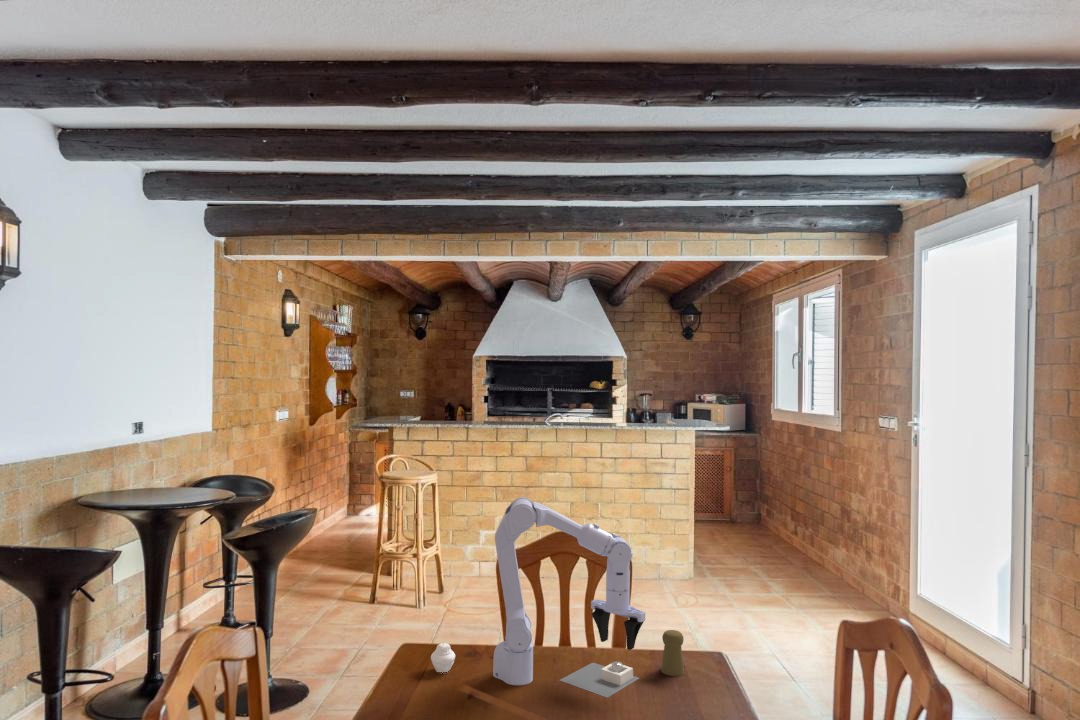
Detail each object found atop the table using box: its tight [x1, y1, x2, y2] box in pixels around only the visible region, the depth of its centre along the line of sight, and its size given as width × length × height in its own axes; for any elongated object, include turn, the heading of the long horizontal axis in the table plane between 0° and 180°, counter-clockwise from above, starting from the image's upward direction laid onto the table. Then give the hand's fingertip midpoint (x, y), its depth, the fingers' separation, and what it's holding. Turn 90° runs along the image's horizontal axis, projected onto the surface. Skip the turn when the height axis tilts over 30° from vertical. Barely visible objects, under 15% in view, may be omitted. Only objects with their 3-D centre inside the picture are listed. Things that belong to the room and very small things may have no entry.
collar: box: [601, 662, 634, 686], centre depth 171 cm, size 6×6×2 cm
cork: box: [660, 629, 685, 677], centre depth 176 cm, size 6×6×11 cm
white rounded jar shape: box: [430, 642, 456, 674], centre depth 177 cm, size 6×6×7 cm
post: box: [611, 661, 624, 673], centre depth 171 cm, size 3×3×4 cm
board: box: [559, 662, 640, 698], centre depth 171 cm, size 14×14×1 cm
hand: (617, 644), depth 172 cm, fingers open, 7 cm apart
